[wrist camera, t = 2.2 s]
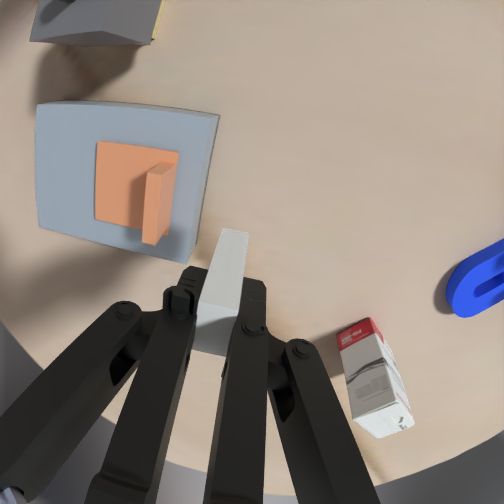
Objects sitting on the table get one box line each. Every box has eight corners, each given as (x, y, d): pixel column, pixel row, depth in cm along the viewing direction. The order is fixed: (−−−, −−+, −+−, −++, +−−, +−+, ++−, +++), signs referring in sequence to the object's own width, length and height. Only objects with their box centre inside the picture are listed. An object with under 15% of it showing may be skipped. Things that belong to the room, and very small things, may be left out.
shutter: (100, 140, 19) (75, 149, 16) (179, 151, 19) (163, 162, 17) (97, 217, 22) (76, 235, 19) (169, 233, 23) (154, 255, 20)
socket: (62, 100, 21) (36, 104, 17) (220, 115, 22) (210, 118, 18) (60, 210, 27) (39, 226, 23) (196, 242, 28) (186, 264, 24)
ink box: (333, 334, 33) (349, 420, 23) (370, 315, 31) (398, 400, 21) (361, 367, 36) (377, 442, 26) (392, 351, 34) (416, 425, 24)
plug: (118, -8, 16) (35, -43, 5) (179, -11, 16) (116, -69, 6) (103, 49, 19) (8, 41, 8) (163, 50, 19) (81, 25, 9)
